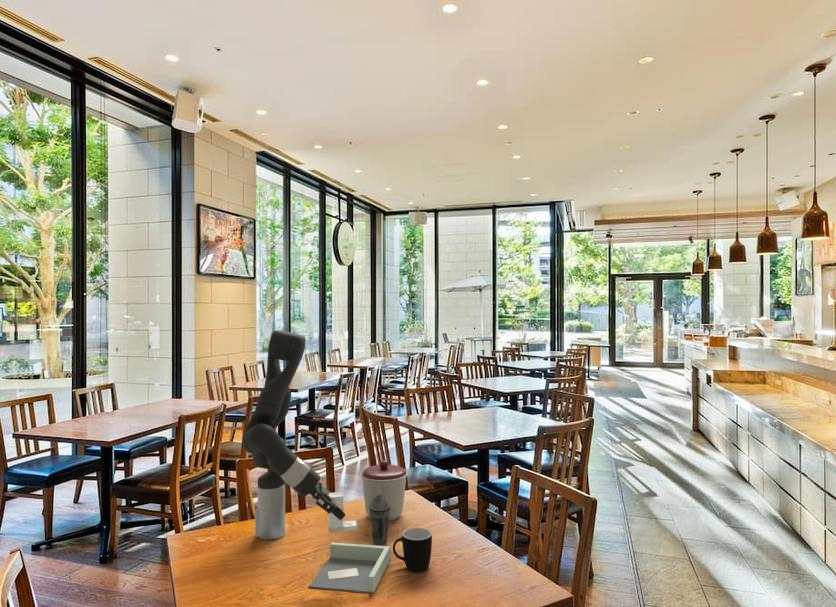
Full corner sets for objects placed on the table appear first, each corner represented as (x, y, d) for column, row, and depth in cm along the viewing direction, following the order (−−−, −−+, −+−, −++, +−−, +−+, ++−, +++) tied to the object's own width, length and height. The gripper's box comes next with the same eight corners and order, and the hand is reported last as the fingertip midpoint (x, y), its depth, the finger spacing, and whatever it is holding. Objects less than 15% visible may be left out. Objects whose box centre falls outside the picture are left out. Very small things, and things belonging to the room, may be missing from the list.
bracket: (329, 532, 151) (329, 497, 151) (328, 527, 155) (328, 493, 155) (357, 529, 153) (356, 495, 153) (355, 524, 157) (355, 490, 157)
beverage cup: (392, 538, 179) (391, 479, 179) (389, 547, 172) (388, 486, 172) (371, 537, 180) (370, 478, 180) (367, 546, 172) (366, 485, 173)
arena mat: (308, 587, 147) (308, 585, 147) (331, 556, 166) (331, 555, 166) (374, 593, 143) (374, 591, 143) (390, 561, 162) (390, 559, 162)
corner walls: (308, 587, 147) (308, 571, 147) (331, 556, 166) (331, 542, 166) (374, 593, 143) (374, 576, 144) (390, 561, 162) (390, 546, 162)
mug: (434, 561, 162) (433, 528, 162) (430, 575, 153) (429, 540, 153) (395, 558, 164) (395, 526, 164) (390, 573, 155) (389, 538, 155)
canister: (403, 506, 209) (403, 452, 209) (412, 523, 191) (412, 465, 191) (358, 510, 205) (357, 456, 205) (363, 528, 187) (362, 469, 188)
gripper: (310, 473, 145) (354, 513, 148) (308, 459, 159) (348, 496, 162) (290, 494, 144) (335, 534, 146) (290, 478, 158) (331, 515, 160)
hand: (342, 514), depth 154 cm, fingers closed on bracket, 4 cm apart
